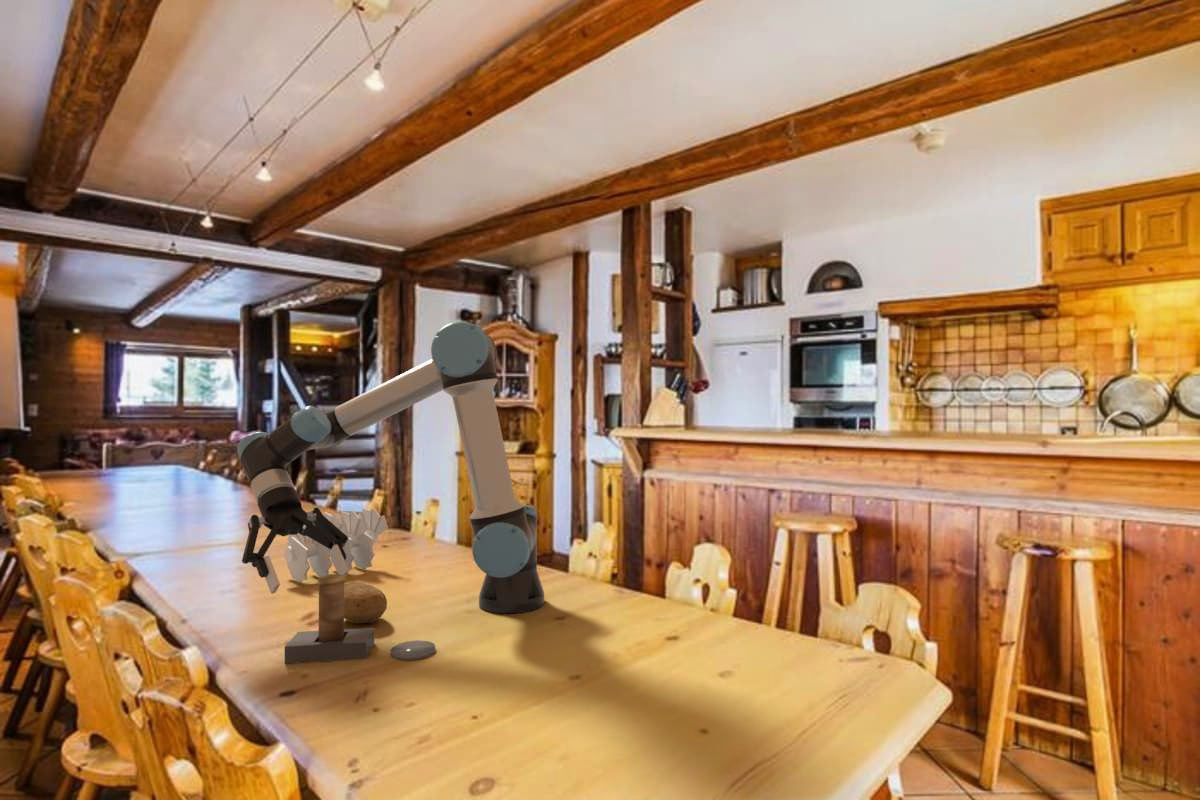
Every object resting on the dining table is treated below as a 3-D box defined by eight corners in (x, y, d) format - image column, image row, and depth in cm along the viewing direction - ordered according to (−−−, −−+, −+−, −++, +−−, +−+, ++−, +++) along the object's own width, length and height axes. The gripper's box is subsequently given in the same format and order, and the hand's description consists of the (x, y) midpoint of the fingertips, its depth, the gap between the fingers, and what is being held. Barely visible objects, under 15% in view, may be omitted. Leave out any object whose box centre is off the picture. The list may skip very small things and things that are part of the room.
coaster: (436, 643, 127) (436, 639, 127) (432, 658, 119) (432, 654, 119) (394, 645, 126) (394, 641, 126) (387, 661, 118) (387, 657, 118)
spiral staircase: (281, 597, 173) (367, 574, 193) (310, 578, 163) (397, 555, 183) (265, 531, 178) (350, 515, 198) (292, 509, 168) (379, 494, 187)
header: (374, 643, 127) (374, 627, 127) (366, 658, 119) (366, 642, 119) (297, 647, 125) (297, 631, 125) (284, 663, 117) (284, 646, 117)
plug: (346, 648, 125) (347, 573, 125) (341, 657, 120) (341, 579, 120) (321, 649, 124) (321, 574, 124) (314, 658, 119) (315, 580, 120)
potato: (355, 635, 132) (355, 595, 132) (325, 620, 142) (325, 583, 142) (399, 624, 139) (399, 586, 139) (367, 610, 149) (368, 574, 149)
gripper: (327, 501, 147) (363, 580, 137) (204, 515, 127) (236, 608, 118) (340, 479, 143) (377, 558, 134) (216, 490, 124) (249, 583, 114)
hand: (311, 582), depth 126 cm, fingers open, 13 cm apart
